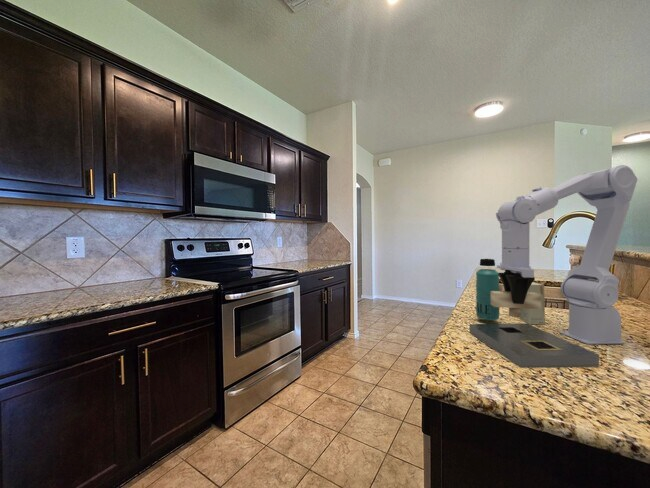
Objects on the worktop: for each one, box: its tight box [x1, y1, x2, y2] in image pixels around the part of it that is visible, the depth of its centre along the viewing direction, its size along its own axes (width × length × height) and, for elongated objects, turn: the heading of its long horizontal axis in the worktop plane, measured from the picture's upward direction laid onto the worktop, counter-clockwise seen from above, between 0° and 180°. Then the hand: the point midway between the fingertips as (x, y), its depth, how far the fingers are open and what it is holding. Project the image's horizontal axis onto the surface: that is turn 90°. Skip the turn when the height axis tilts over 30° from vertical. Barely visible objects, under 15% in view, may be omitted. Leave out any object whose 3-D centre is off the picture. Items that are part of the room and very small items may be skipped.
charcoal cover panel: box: [469, 322, 600, 368], centre depth 65 cm, size 16×20×3 cm
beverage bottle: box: [475, 258, 500, 321], centre depth 84 cm, size 6×7×20 cm
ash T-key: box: [491, 290, 541, 318], centre depth 68 cm, size 10×3×6 cm, turn 75°
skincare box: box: [519, 281, 546, 326], centre depth 84 cm, size 6×4×12 cm
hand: (515, 301), depth 68 cm, fingers closed on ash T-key, 3 cm apart
